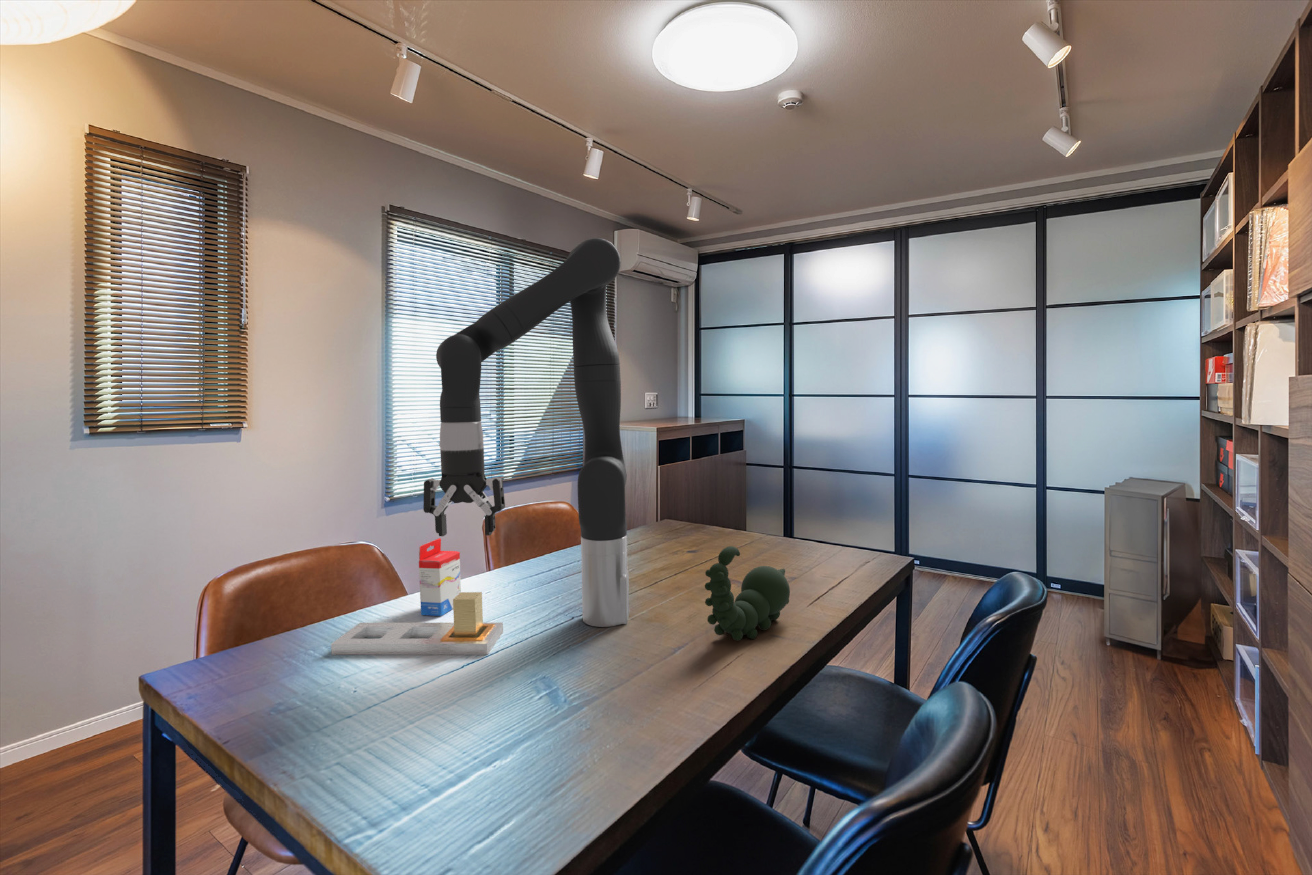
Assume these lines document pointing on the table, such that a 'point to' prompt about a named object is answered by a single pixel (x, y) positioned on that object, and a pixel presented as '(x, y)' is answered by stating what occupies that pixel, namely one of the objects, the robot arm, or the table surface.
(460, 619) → the brass block
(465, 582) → the table surface
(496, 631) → the white flat slotted block
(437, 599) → the ink box
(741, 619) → the toy figurine
